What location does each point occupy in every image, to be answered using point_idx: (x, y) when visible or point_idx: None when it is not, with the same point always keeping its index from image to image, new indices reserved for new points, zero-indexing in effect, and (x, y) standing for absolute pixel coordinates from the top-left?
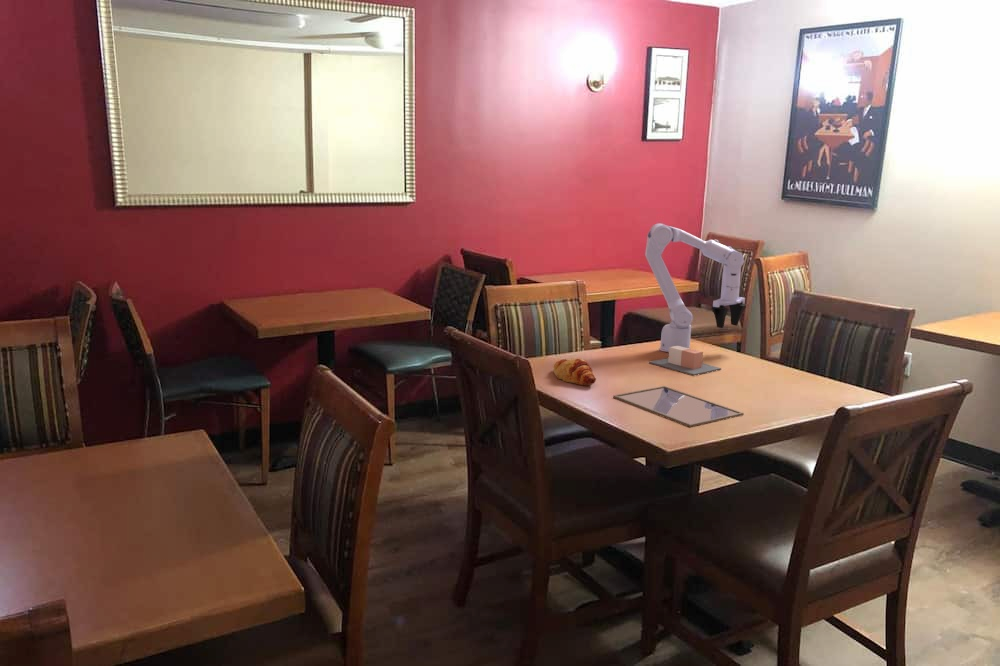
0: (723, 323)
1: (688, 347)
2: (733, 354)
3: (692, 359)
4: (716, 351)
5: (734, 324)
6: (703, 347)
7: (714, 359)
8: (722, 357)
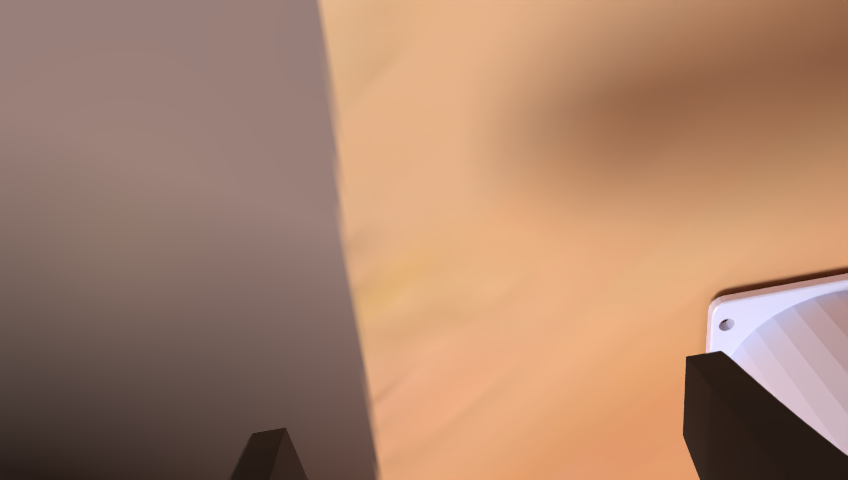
0: (762, 406)
1: (838, 329)
2: (377, 118)
3: None
4: (458, 278)
5: (293, 466)
6: (456, 417)
7: (790, 4)
8: (618, 49)
